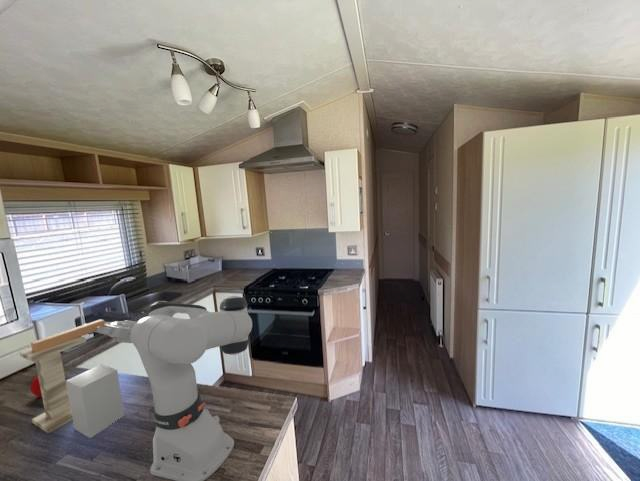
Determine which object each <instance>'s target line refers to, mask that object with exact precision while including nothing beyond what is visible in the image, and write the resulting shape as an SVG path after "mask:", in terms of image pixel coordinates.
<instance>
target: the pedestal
mask: <svg viewBox="0 0 640 481" xmlns="http://www.w3.org/2000/svg"><path fill="white" fill-rule="evenodd" d="M65 380H66V379H65ZM66 386H67V391H68V397H69V402H70V407H71V413H72V418H73V420H72V423H73V427H74V428H73V429H74V430H76V431H77V432H79V433H81V434H82V435H84V436H86V437H88V438H89V439H91V438H93V437H94V436H96V435H98V434H99V433H101V432H102V431H104V430H105V429H107V428H108V427H110V426H111V425H113V424H114V423H116V422H118V421H119V420H121V419H122V418H124V417H125V410H124V404H123V398H122V397H123V396H122V393H121V392H122V391H121V386H120V380H119V374H118V369H116V368H113V367H110V366H109V365H104V364H99V365H97V366H94V367H93V368H90V369H88V370H86V371H84V372H81V373H79V374H76V375H75V376H72V377H69V379H67V380H66ZM123 416H124V417H123ZM121 417H122V418H121ZM120 418H121V419H120ZM118 419H119V420H118ZM117 420H118V421H117ZM115 421H116V422H115ZM112 423H113V424H112ZM109 425H110V426H109Z"/></svg>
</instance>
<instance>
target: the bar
mask: <svg viewBox="0 0 640 481" xmlns="http://www.w3.org/2000/svg"><path fill="white" fill-rule="evenodd" d="M105 322H106V321H105V319H101V318H100V319H97V320H94V321H90V322H88V323H83V324H82V325H79V326H76V327H72V328H70V329H67V330H64V331H61V332H57V333H55V334H51V335H49V336H46V337H43V338H40V339H37V340H33V341H31V342H30V348H32V351H34V352H39V351H42V350H44V349H47V348H50V347H53V346H56V345H58V344H61V343H64V342H67V341H69V340H72V339H75V338H78V337H80V336H81V337H84V336H85V335H89V334H91V333H95V332H94V331H95V330H96V327H105Z"/></svg>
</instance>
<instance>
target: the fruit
mask: <svg viewBox="0 0 640 481" xmlns="http://www.w3.org/2000/svg"><path fill="white" fill-rule="evenodd" d="M29 387H30V388H29V389H30V392H31V394H32V395H34V396H35V397H37V398H42V393H41V388H40V383H39V378H38V375H37V376H35V378H33V380H32V381H31V383H30V386H29Z"/></svg>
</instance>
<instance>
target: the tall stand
mask: <svg viewBox="0 0 640 481" xmlns="http://www.w3.org/2000/svg"><path fill="white" fill-rule="evenodd" d="M86 342H87V338H86V337H84V336H80V337H78V338H75V339H72V340H69V341H67V342H64V343H61V344H58V345H56V346H53V347H50V348H47V349H44V350H42V351H39V352H34V351H32V347H30V348H28V349H24V350H22V351H19V355H20V358H24V359H26V360H27V361H30V362H32V363H34V362H35V368H36V373H37V376H38V378H39V383H40V388H41V393H42V397H41V398H42V404H43V408H44V412H43V413H41V414H38V415H37V416H35V417H33V418H31V422H32V424H34V425H35V426H36V427H38V428H40V429H41V430H43V431H44V432H45V433H46V434H50V433H52V432H54V431H55V430H57V429H59V428H61V427H63V426H65V425H66V424H68V423H69V422H72V421H73V418H72V413H71V407H70V402H69V396H68V391H67V385H66V376H65V375H66V374H65V369H64V364H63V358H62V353H61V352H63V351H66V350H68V349H71V348H73V347H76V346H79V345H82V344H84V343H86Z"/></svg>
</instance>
